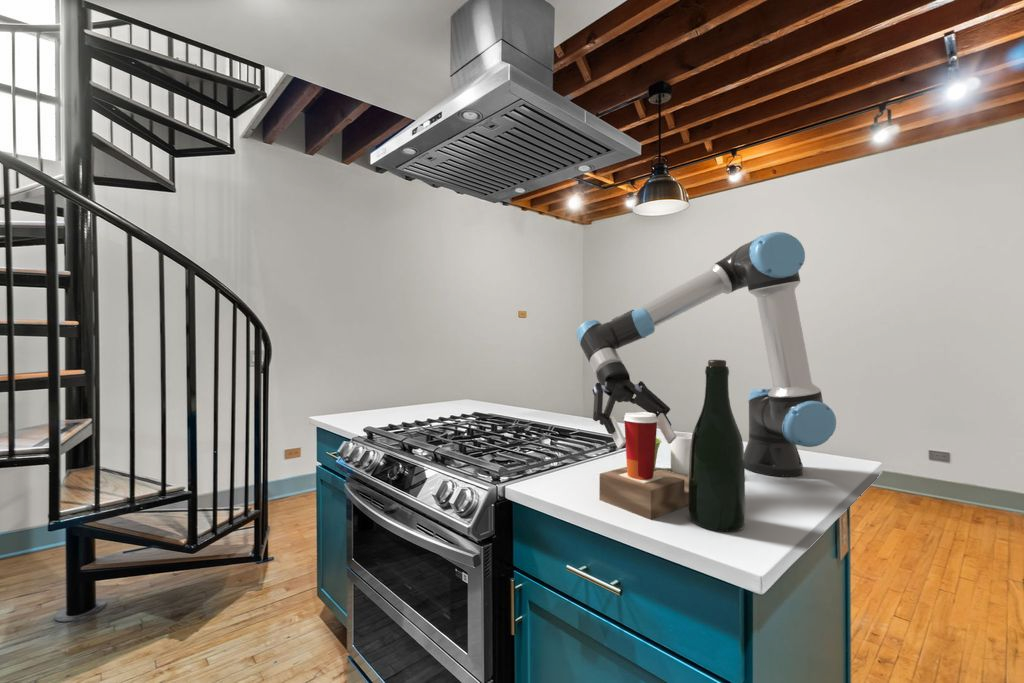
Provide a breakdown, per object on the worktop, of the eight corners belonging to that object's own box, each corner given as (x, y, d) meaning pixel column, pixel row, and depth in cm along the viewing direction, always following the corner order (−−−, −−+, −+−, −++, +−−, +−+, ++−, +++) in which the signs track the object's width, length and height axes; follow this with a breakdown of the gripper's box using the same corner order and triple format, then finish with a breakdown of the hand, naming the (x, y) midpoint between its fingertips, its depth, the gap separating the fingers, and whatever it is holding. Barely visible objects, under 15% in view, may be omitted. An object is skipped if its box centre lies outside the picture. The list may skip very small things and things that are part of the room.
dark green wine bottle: (729, 512, 95) (730, 358, 95) (755, 533, 85) (757, 361, 84) (680, 511, 95) (681, 358, 95) (700, 533, 85) (701, 360, 85)
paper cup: (660, 473, 102) (660, 412, 102) (655, 483, 95) (656, 417, 95) (625, 469, 105) (626, 410, 105) (618, 478, 98) (619, 415, 98)
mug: (714, 480, 117) (714, 441, 117) (683, 480, 116) (683, 441, 116) (694, 467, 129) (694, 432, 129) (666, 467, 128) (666, 432, 128)
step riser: (662, 480, 117) (662, 456, 116) (713, 495, 105) (713, 469, 105) (599, 499, 102) (599, 472, 102) (650, 519, 91) (650, 489, 91)
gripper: (643, 378, 119) (683, 447, 105) (560, 381, 110) (592, 456, 96) (656, 359, 114) (700, 429, 100) (571, 360, 105) (606, 437, 91)
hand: (648, 442), depth 98 cm, fingers open, 13 cm apart
